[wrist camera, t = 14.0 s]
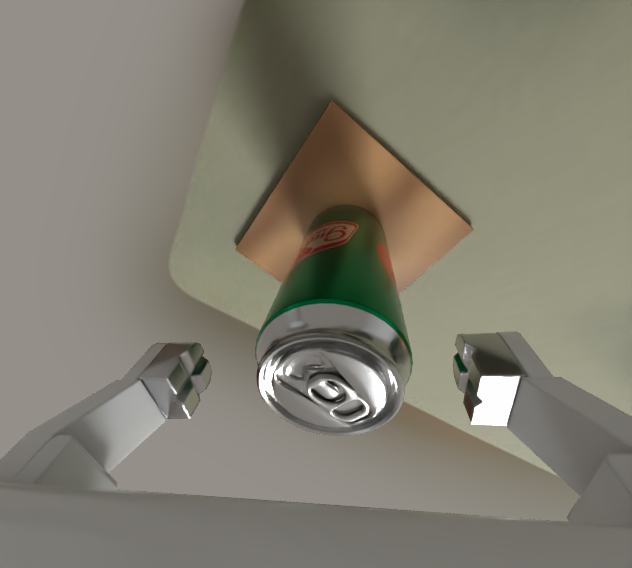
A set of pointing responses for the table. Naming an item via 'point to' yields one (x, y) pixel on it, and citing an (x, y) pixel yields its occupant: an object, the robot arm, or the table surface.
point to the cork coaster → (352, 202)
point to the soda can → (336, 331)
